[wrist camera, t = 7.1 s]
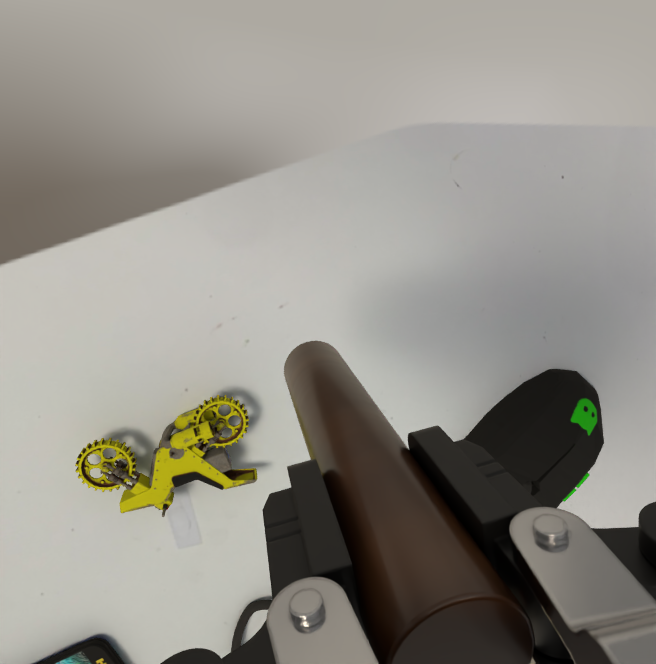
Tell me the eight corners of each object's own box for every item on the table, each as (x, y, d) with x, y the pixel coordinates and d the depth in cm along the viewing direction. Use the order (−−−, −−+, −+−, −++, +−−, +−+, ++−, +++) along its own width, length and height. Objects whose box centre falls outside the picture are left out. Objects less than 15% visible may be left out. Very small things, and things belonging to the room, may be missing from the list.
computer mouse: (625, 417, 43) (663, 438, 39) (502, 552, 44) (528, 586, 40) (547, 344, 39) (581, 359, 36) (417, 493, 41) (436, 523, 37)
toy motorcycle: (237, 400, 31) (273, 485, 34) (236, 378, 35) (269, 456, 37) (56, 468, 30) (106, 551, 33) (75, 438, 34) (118, 515, 36)
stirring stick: (277, 348, 19) (371, 628, 6) (337, 334, 19) (532, 575, 7) (290, 403, 19) (396, 749, 7) (347, 388, 20) (541, 695, 8)
